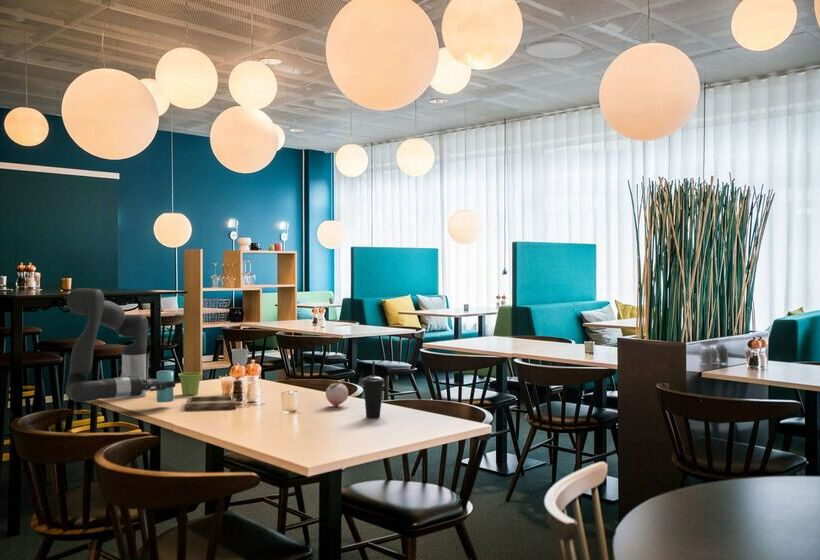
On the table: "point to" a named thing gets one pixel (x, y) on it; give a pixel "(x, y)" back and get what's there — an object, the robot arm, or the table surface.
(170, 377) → the teal tumbler
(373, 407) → the drinking cup
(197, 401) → the walnut tray
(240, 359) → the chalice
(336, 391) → the decorative fruit
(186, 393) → the plant pot
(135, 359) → the robot arm
